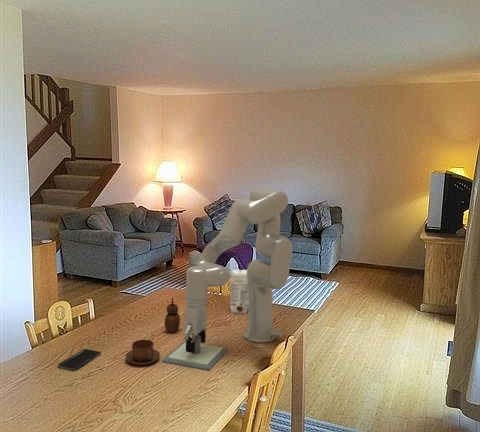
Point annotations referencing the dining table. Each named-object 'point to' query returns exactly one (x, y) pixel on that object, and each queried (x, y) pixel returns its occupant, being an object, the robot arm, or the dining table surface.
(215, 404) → the dining table surface
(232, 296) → the juice carton
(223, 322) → the dining table surface
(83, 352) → the phone
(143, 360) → the cup and saucer
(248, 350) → the dining table surface
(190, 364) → the rubber mat
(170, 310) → the wooden figurine
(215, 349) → the cover board
